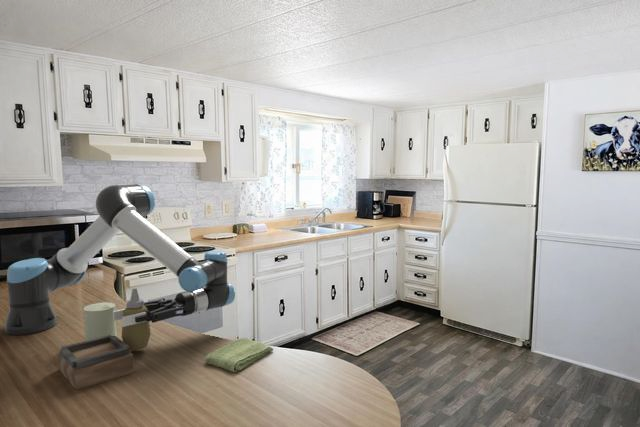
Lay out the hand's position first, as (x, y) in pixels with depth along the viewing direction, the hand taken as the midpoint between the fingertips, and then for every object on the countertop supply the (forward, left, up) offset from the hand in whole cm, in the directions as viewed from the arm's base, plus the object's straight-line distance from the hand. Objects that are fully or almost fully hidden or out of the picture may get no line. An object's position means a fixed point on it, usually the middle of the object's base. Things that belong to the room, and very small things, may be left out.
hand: (118, 318), depth 124 cm
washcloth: (+25, +25, -12) cm, 37 cm away
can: (-16, 0, -12) cm, 20 cm away
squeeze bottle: (0, +5, -10) cm, 11 cm away
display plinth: (+5, -8, -11) cm, 15 cm away
